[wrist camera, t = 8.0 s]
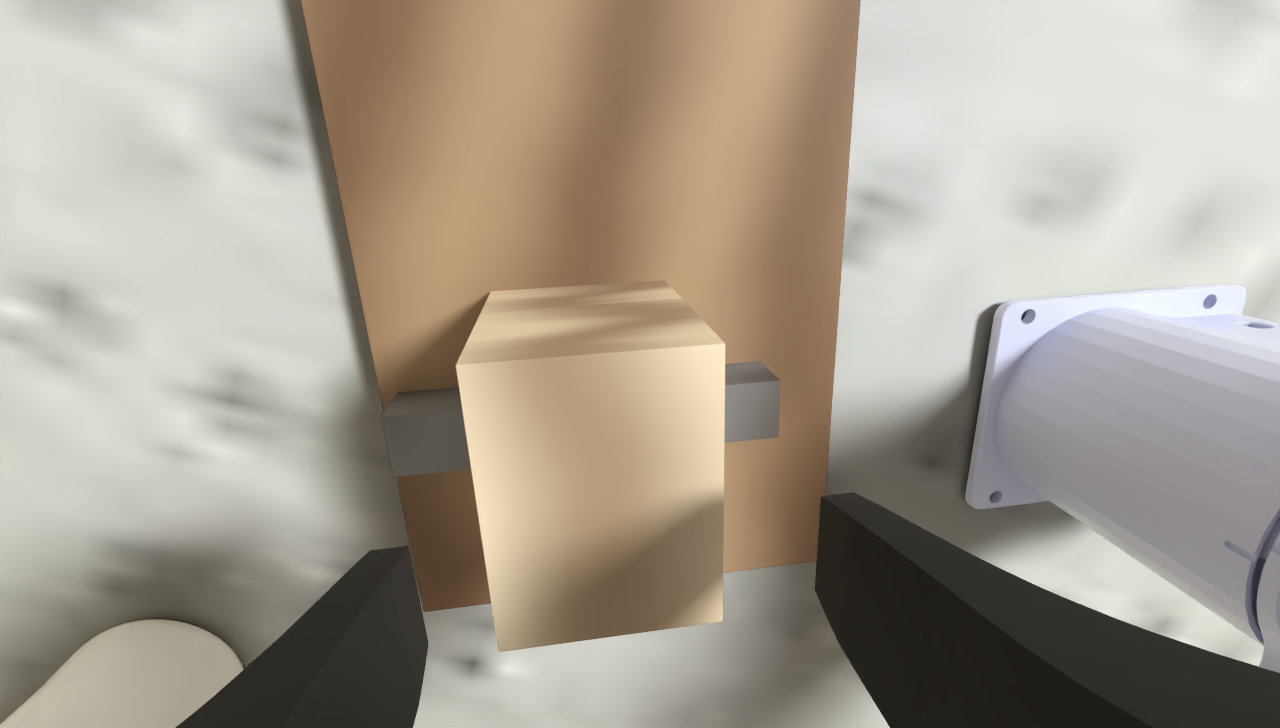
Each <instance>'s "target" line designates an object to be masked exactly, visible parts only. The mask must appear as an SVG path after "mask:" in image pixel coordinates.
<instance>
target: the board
mask: <svg viewBox="0 0 1280 728" xmlns="http://www.w3.org/2000/svg"><path fill="white" fill-rule="evenodd" d="M301 3H302V8H303V13H304V18H305V23H306V28H307V33H308V38H309V43H310V48H311V53H312V58H313V63H314V68H315V73H316V78H317V83H318V88H319V93H320V98H321V103H322V108H323V113H324V118H325V123H326V127H327V132H328V137H329V142H330V147H331V152H332V157H333V162H334V167H335V172H336V177H337V182H338V187H339V192H340V197H341V202H342V207H343V212H344V217H345V222H346V227H347V232H348V237H349V242H350V247H351V252H352V257H353V262H354V267H355V272H356V277H357V282H358V287H359V292H360V297H361V302H362V307H363V312H364V317H365V322H366V327H367V332H368V337H369V342H370V347H371V352H372V357H373V362H374V367H375V372H376V377H377V382H378V387H379V392H380V397H381V402H382V407H383V412H384V413H383V415H382V416H381V420H382V425H383V430H384V435H385V440H386V445H387V449H388V454H389V459H390V464H391V469H392V474H393V477H397V482H398V487H399V492H400V497H401V502H402V507H403V512H404V517H405V522H406V527H407V532H408V537H409V542H410V547H411V552H412V557H413V562H414V567H415V572H416V577H417V582H418V587H419V592H420V597H421V602H422V607H423V612H428V611H435V610H443V609H451V608H458V607H466V606H474V605H481V604H489V603H491V598H490V591H489V585H488V578H487V571H486V565H485V558H484V551H483V544H482V538H481V531H480V524H479V518H478V511H477V504H476V497H475V491H474V484H473V477H472V471H471V464H470V457H469V450H468V444H467V437H466V430H465V424H464V417H463V410H462V403H461V397H460V390H459V383H458V377H457V370H456V364H457V361H458V359H459V357H460V355H461V353H462V351H463V349H464V347H465V345H466V343H467V340H468V338H469V336H470V334H471V332H472V330H473V328H474V326H475V324H476V322H477V319H478V317H479V315H480V313H481V311H482V309H483V307H484V305H485V303H486V301H487V298H488V296H489V294H490V292H491V291H506V290H521V289H536V288H551V287H567V286H582V285H597V284H612V283H628V282H643V281H658V280H665V281H666V282H667V283H668V284H669V285H670V286H671V287H672V289H673V290H674V291H675V292H676V293H677V294H678V295H679V296H680V297H681V298H682V299H683V300H684V301H685V302H686V303H687V304H688V305H689V306H690V307H691V308H692V309H693V310H694V311H695V312H696V313H697V315H698V316H699V317H700V318H701V319H702V320H703V321H704V322H705V323H706V324H707V325H708V326H709V327H710V328H711V329H712V330H713V331H714V332H715V333H716V334H717V335H718V336H719V337H720V338H721V340H722V341H723V342H724V343H725V433H724V539H723V573H727V572H735V571H743V570H750V569H758V568H766V567H773V566H781V565H789V564H796V563H804V562H812V561H817V548H818V533H819V517H820V501H821V496H825V494H826V480H827V466H828V452H829V438H830V423H831V409H832V395H833V381H834V367H835V353H836V339H837V324H838V310H839V296H840V282H841V268H842V254H843V240H844V226H845V211H846V197H847V183H848V169H849V155H850V141H851V127H852V112H853V98H854V84H855V70H856V56H857V42H858V28H859V14H860V0H301Z"/></svg>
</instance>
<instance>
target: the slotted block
mask: <svg viewBox="0 0 1280 728" xmlns="http://www.w3.org/2000/svg"><path fill="white" fill-rule="evenodd" d="M456 370H457V377H458V383H459V390H460V397H461V403H462V410H463V417H464V424H465V430H466V437H467V444H468V450H469V457H470V464H471V471H472V477H473V484H474V491H475V497H476V504H477V511H478V518H479V524H480V531H481V538H482V544H483V551H484V558H485V565H486V571H487V578H488V585H489V591H490V598H491V605H492V612H493V618H494V625H495V632H496V638H497V645H498V652H503V651H510V650H518V649H525V648H532V647H539V646H547V645H554V644H561V643H568V642H576V641H583V640H590V639H597V638H605V637H612V636H619V635H626V634H634V633H641V632H648V631H656V630H663V629H670V628H677V627H685V626H692V625H699V624H706V623H714V622H721V621H723V539H724V433H725V343H724V342H723V341H722V340H721V338H720V337H719V336H718V335H717V334H716V333H715V332H714V331H713V330H712V329H711V328H710V327H709V326H708V325H707V324H706V323H705V322H704V321H703V320H702V319H701V318H700V317H699V316H698V315H697V313H696V312H695V311H694V310H693V309H692V308H691V307H690V306H689V305H688V304H687V303H686V302H685V301H684V300H683V299H682V298H681V297H680V296H679V295H678V294H677V293H676V292H675V291H674V290H673V289H672V287H671V286H670V285H669V284H668V283H667V282H666V281H665V280H658V281H643V282H628V283H612V284H597V285H582V286H567V287H551V288H536V289H521V290H506V291H491V292H490V294H489V296H488V298H487V301H486V303H485V305H484V307H483V309H482V311H481V313H480V315H479V317H478V319H477V322H476V324H475V326H474V328H473V330H472V332H471V334H470V336H469V338H468V340H467V343H466V345H465V347H464V349H463V351H462V353H461V355H460V357H459V359H458V361H457V364H456Z"/></svg>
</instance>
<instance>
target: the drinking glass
mask: <svg viewBox="0 0 1280 728" xmlns="http://www.w3.org/2000/svg"><path fill="white" fill-rule="evenodd" d="M243 670H244V669H243V666H242V664H241V662H240V660H239V658H238V657H237V655H236V654H235V652H234V651H233V650H232V649H231V648H230V647H229V646H228V645H227V644H226V643H225V642H224V641H222V640H221V639H220V638H218V637H217V636H215V635H214V634H212V633H210V632H208V631H206V630H204V629H202V628H200V627H197V626H194V625H191V624H188V623H184V622H179V621H173V620H162V619H150V620H140V621H133V622H129V623H125V624H121V625H118V626H115V627H113V628H111V629H108V630H106V631H104V632H102V633H100V634H98V635H97V636H95V637H93V638H92V639H91V640H89V641H88V642H86V643H85V644H84V645H83V646H82V647H80V648H79V649H78V650H77V651H76V652H75V653H74V654H73V655H72V656H71V657H70V658H69V659H68V660H67V661H66V662H65V663H64V664H63V665H62V666H61V667H60V668H59V669H58V670H57V671H56V672H55V673H54V674H53V675H52V676H51V677H50V678H49V679H48V680H47V681H46V682H45V684H44V685H43V686H42V687H41V688H40V689H38V690H37V691H36V692H35V693H34V694H33V695H32V696H31V697H30V698H29V699H28V700H26V701H25V702H24V703H23V704H22V705H21V706H20V707H19V708H18V709H17V710H15V711H14V712H13V713H12V714H11V715H10V716H9V717H8V718H7V719H5V720H4V721H3V722H2V723H1V724H0V728H176V727H177V726H178V725H179V724H181V723H182V722H183V721H184V720H185V719H187V718H188V717H189V716H190V715H192V714H193V713H194V712H195V711H197V710H198V709H199V708H200V707H201V706H203V705H204V704H205V703H206V702H207V701H209V700H210V699H211V698H212V697H213V696H214V695H216V694H217V693H218V692H219V691H220V690H221V689H222V688H224V687H225V686H226V685H227V684H228V683H229V682H230V681H231V680H233V679H234V678H235V677H236V676H237V675H238V674H239V673H240V672H242V671H243Z"/></svg>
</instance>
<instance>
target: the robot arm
mask: <svg viewBox="0 0 1280 728" xmlns="http://www.w3.org/2000/svg"><path fill="white" fill-rule="evenodd" d="M1245 300H1246V291H1245V289H1244V288H1243V287H1242V286H1238V285H1233V284H1219V285H1206V286H1194V287H1181V288H1168V289H1155V290H1143V291H1130V292H1117V293H1104V294H1092V295H1079V296H1066V297H1054V298H1041V299H1028V300H1015V301H1008V302H1004V303H1003V304H1001V305H1000V306H999V307H998V309H997V310H996V312H995V315H994V319H993V325H992V331H991V338H990V344H989V350H988V356H987V363H986V369H985V375H984V381H983V388H982V394H981V400H980V406H979V413H978V419H977V425H976V431H975V438H974V444H973V450H972V456H971V463H970V469H969V475H968V481H967V488H966V494H965V499H966V501H967V503H968V504H970V505H971V506H972V507H973V508H975V509H989V508H997V507H1005V506H1013V505H1021V504H1029V503H1037V502H1045V501H1050V502H1052V503H1053V504H1055V505H1056V506H1058V507H1059V508H1061V509H1062V510H1064V511H1065V512H1067V513H1068V514H1070V515H1071V516H1072V517H1074V518H1075V519H1077V520H1078V521H1080V522H1081V523H1083V524H1084V525H1086V526H1087V527H1089V528H1090V529H1092V530H1093V531H1095V532H1096V533H1098V534H1099V535H1100V536H1102V537H1103V538H1105V539H1106V540H1108V541H1109V542H1111V543H1112V544H1114V545H1115V546H1117V547H1118V548H1120V549H1121V550H1123V551H1124V552H1126V553H1127V554H1128V555H1130V556H1131V557H1133V558H1134V559H1136V560H1137V561H1139V562H1140V563H1142V564H1143V565H1145V566H1146V567H1148V568H1149V569H1151V570H1152V571H1153V572H1155V573H1156V574H1158V575H1159V576H1161V577H1162V578H1164V579H1165V580H1167V581H1168V582H1170V583H1171V584H1173V585H1174V586H1176V587H1177V588H1179V589H1180V590H1181V591H1183V592H1184V593H1186V594H1187V595H1189V596H1190V597H1192V598H1193V599H1195V600H1196V601H1198V602H1199V603H1201V604H1202V605H1204V606H1205V607H1206V608H1208V609H1209V610H1211V611H1212V612H1214V613H1215V614H1217V615H1218V616H1220V617H1221V618H1223V619H1224V620H1226V621H1227V622H1229V623H1230V624H1232V625H1233V626H1234V627H1236V628H1237V629H1239V630H1240V631H1242V632H1243V633H1245V634H1246V635H1248V636H1249V637H1251V638H1252V639H1254V640H1255V641H1257V642H1258V643H1260V644H1261V645H1262V646H1264V652H1263V656H1262V660H1261V662H1260V665H1259V667H1258V666H1254V665H1251V664H1248V663H1245V662H1241V661H1238V660H1235V659H1232V658H1228V657H1225V656H1222V655H1219V654H1215V653H1212V652H1209V651H1206V650H1203V649H1200V648H1197V647H1195V646H1192V645H1189V644H1186V643H1183V642H1180V641H1177V640H1174V639H1171V638H1168V637H1165V636H1162V635H1159V634H1156V633H1153V632H1150V631H1148V630H1145V629H1142V628H1140V627H1137V626H1134V625H1131V624H1129V623H1126V622H1123V621H1121V620H1118V619H1115V618H1113V617H1110V616H1108V615H1105V614H1103V613H1100V612H1098V611H1095V610H1093V609H1091V608H1088V607H1086V606H1083V605H1081V604H1078V603H1076V602H1073V601H1071V600H1068V599H1066V598H1063V597H1061V596H1059V595H1056V594H1054V593H1052V592H1050V591H1047V590H1045V589H1043V588H1040V587H1038V586H1036V585H1034V584H1032V583H1030V582H1027V581H1025V580H1023V579H1021V578H1019V577H1017V576H1015V575H1013V574H1011V573H1008V572H1006V571H1004V570H1002V569H1000V568H998V567H996V566H994V565H992V564H990V563H988V562H986V561H984V560H982V559H980V558H978V557H976V556H974V555H972V554H970V553H968V552H966V551H964V550H962V549H960V548H958V547H956V546H954V545H952V544H951V543H949V542H947V541H945V540H943V539H941V538H939V537H937V536H935V535H934V534H932V533H930V532H928V531H926V530H924V529H922V528H921V527H919V526H917V525H915V524H913V523H911V522H909V521H908V520H906V519H904V518H902V517H900V516H898V515H896V514H895V513H893V512H891V511H889V510H887V509H885V508H883V507H881V506H880V505H878V504H876V503H874V502H872V501H870V500H868V499H866V498H864V497H861V496H859V495H857V494H855V493H846V494H838V495H829V496H821V501H820V517H819V533H818V548H817V564H816V580H815V591H816V593H817V596H818V598H819V600H820V603H821V605H822V607H823V610H824V612H825V614H826V617H827V619H828V621H829V623H830V625H831V627H832V630H833V632H834V634H835V636H836V638H837V640H838V642H839V644H840V646H841V647H842V649H843V651H844V653H845V654H846V656H847V658H848V659H849V661H850V663H851V664H852V666H853V668H854V669H855V671H856V673H857V674H858V676H859V678H860V679H861V681H862V683H863V684H864V686H865V687H866V689H867V691H868V692H869V694H870V696H871V697H872V699H873V701H874V702H875V704H876V705H877V707H878V709H879V710H880V712H881V714H882V715H883V717H884V718H885V720H886V722H887V723H888V725H889V727H890V728H1280V323H1277V322H1272V321H1268V320H1263V319H1259V318H1254V317H1250V316H1245V315H1241V313H1242V310H1243V306H1244V303H1245ZM1026 310H1027V314H1026V316H1025V318H1024V319H1023V320H1021V316H1022V314H1023V313H1024V312H1025V311H1026ZM993 492H994V494H993V495H992V496H991V497H990V495H991V494H992V493H993ZM427 650H428V639H427V634H426V630H425V625H424V620H423V615H422V610H421V605H420V601H419V596H418V591H417V586H416V581H415V576H414V572H413V567H412V562H411V557H410V552H409V547H408V546H404V547H396V548H388V549H379V550H371V551H369V552H368V553H367V554H366V555H365V556H364V557H363V558H361V559H360V560H359V561H358V562H357V563H356V564H355V565H354V566H353V567H352V568H351V569H350V570H349V571H348V572H347V573H346V574H345V575H344V576H343V577H342V578H341V579H340V580H339V581H338V582H337V583H336V584H335V585H334V586H333V587H332V588H331V589H330V590H329V591H328V592H326V593H325V594H324V595H323V596H322V597H321V598H320V599H319V600H318V601H317V602H316V603H315V604H314V605H313V606H312V607H311V608H310V609H309V610H308V611H307V612H306V613H305V614H304V615H303V616H302V617H301V618H300V619H298V620H297V621H296V622H295V623H294V624H293V625H292V626H291V627H290V628H289V629H288V630H287V631H286V632H285V633H284V634H283V635H282V636H281V637H280V638H279V639H278V640H276V641H275V642H274V643H273V644H272V645H271V646H270V647H269V648H268V649H266V650H265V651H264V652H263V653H262V654H261V655H260V656H259V657H257V658H256V659H255V660H254V661H253V662H252V663H251V664H249V665H248V666H247V667H246V668H245V669H244V670H243V671H242V672H240V673H239V674H238V675H237V676H236V677H235V678H234V679H233V680H231V681H230V682H229V683H228V684H227V685H226V686H225V687H224V688H222V689H221V690H220V691H219V692H218V693H217V694H216V695H214V696H213V697H212V698H211V699H210V700H209V701H207V702H206V703H205V704H204V705H203V706H201V707H200V708H199V709H198V710H197V711H195V712H194V713H193V714H192V715H190V716H189V717H188V718H187V719H185V720H184V721H183V722H182V723H181V724H179V725H178V726H177V727H176V728H413V725H414V721H415V717H416V713H417V710H418V706H419V700H420V695H421V689H422V683H423V677H424V670H425V663H426V656H427Z"/></svg>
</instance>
